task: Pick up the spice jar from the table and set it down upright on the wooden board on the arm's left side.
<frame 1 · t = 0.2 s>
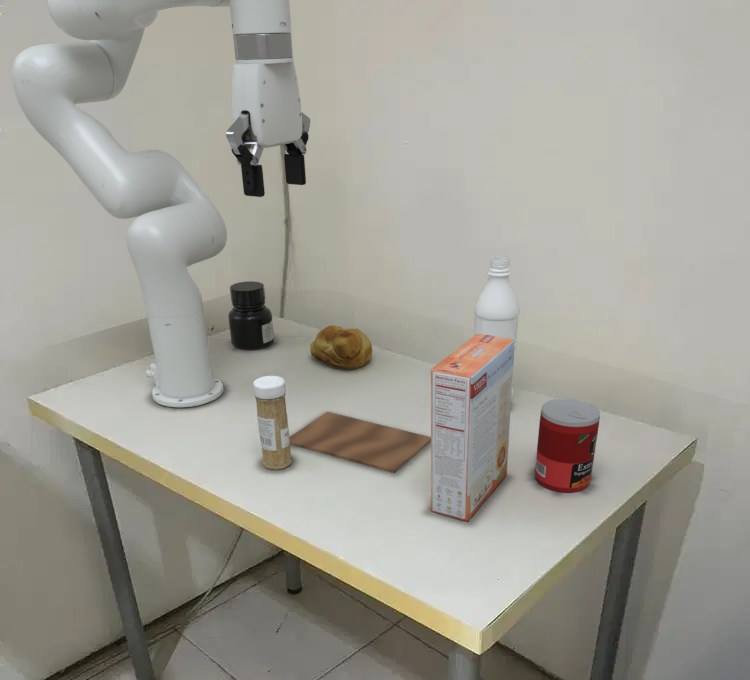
hand: (276, 189, 109), 37 cm above the table, tool pointing down, fingers open, 9 cm apart
spice jar: (277, 464, 117), on the table
ink bottle: (253, 344, 161), on the table
canned food: (561, 480, 111), on the table
bread roll: (341, 362, 151), on the table
wooden board: (358, 441, 122), on the table
water bottle: (490, 407, 132), on the table
cracker box: (468, 495, 108), on the table
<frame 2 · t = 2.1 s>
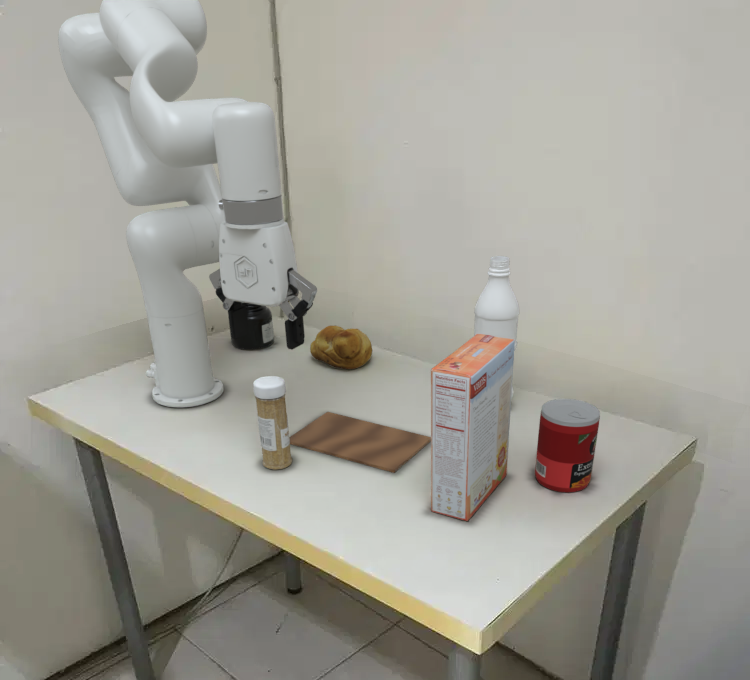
hand: (267, 341, 107), 19 cm above the table, tool pointing down, fingers open, 9 cm apart
nothing on the table moved.
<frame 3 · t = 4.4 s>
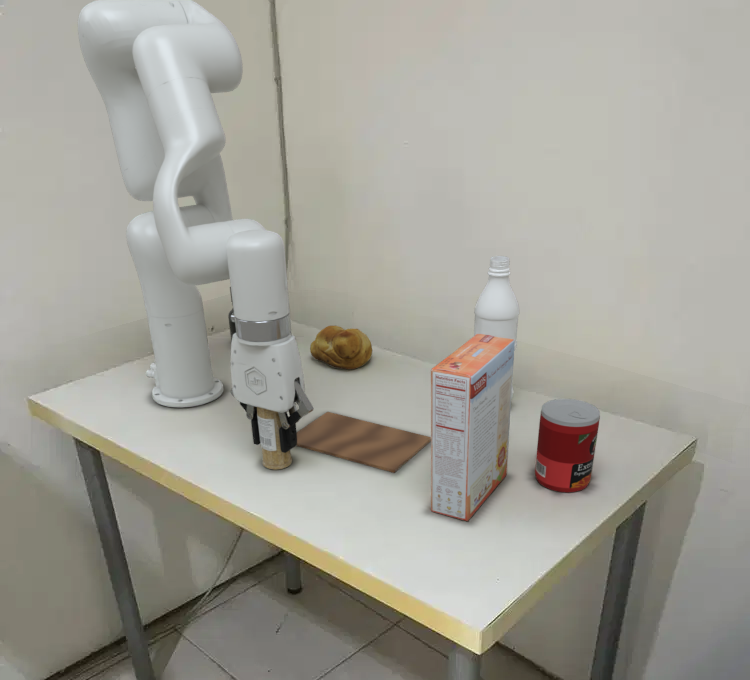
hand: (275, 443, 115), 3 cm above the table, tool pointing down, fingers closed on spice jar, 4 cm apart
spice jar: (277, 464, 117), on the table, touching gripper
everything else where it was.
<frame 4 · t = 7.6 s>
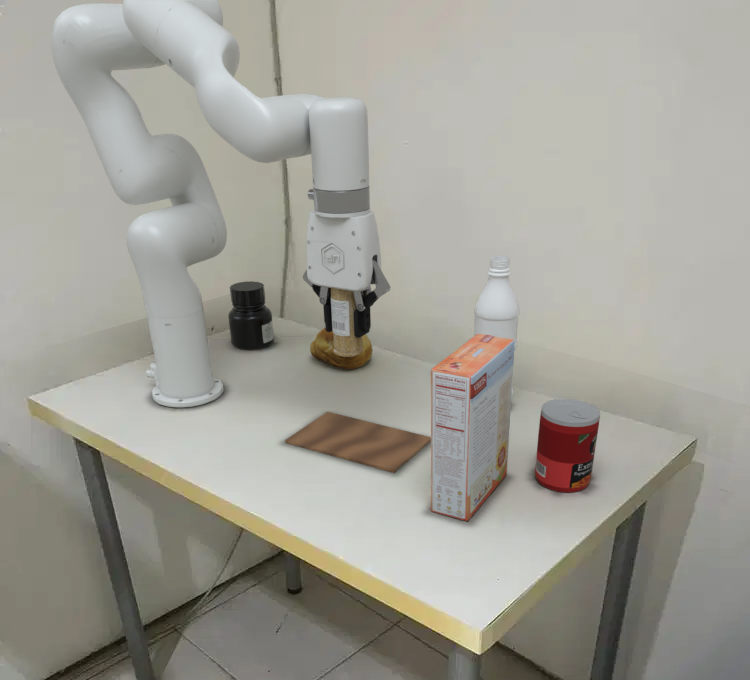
hand: (347, 330, 113), 18 cm above the table, tool pointing down, fingers closed on spice jar, 4 cm apart
spice jar: (348, 353, 115), point 14 cm above the table, touching gripper
everything else where it was.
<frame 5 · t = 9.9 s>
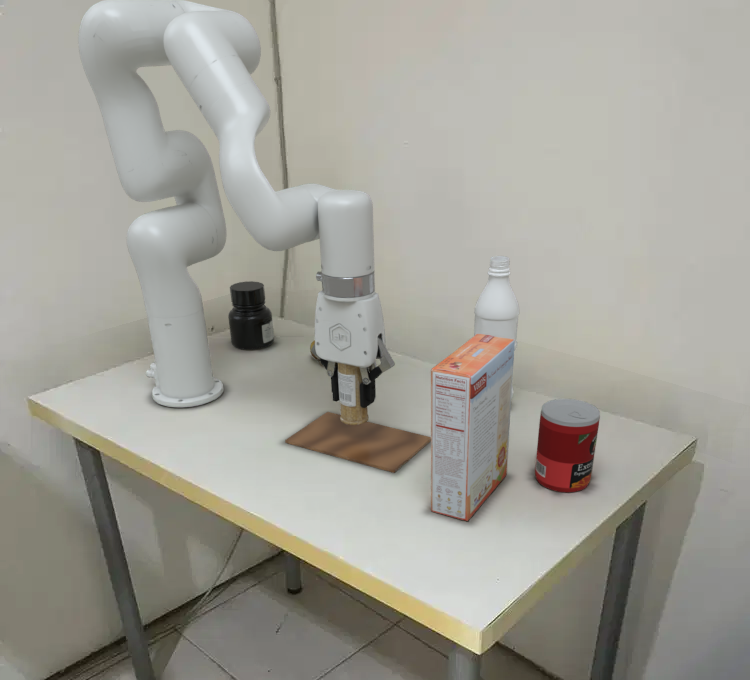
hand: (353, 400, 119), 7 cm above the table, tool pointing down, fingers closed on spice jar, 4 cm apart
spice jar: (354, 421, 121), point 3 cm above the table, touching gripper
everything else where it was.
when the fingers open (4 cm above the table, at t = 11.1 s): spice jar stays where it is, resting on wooden board.
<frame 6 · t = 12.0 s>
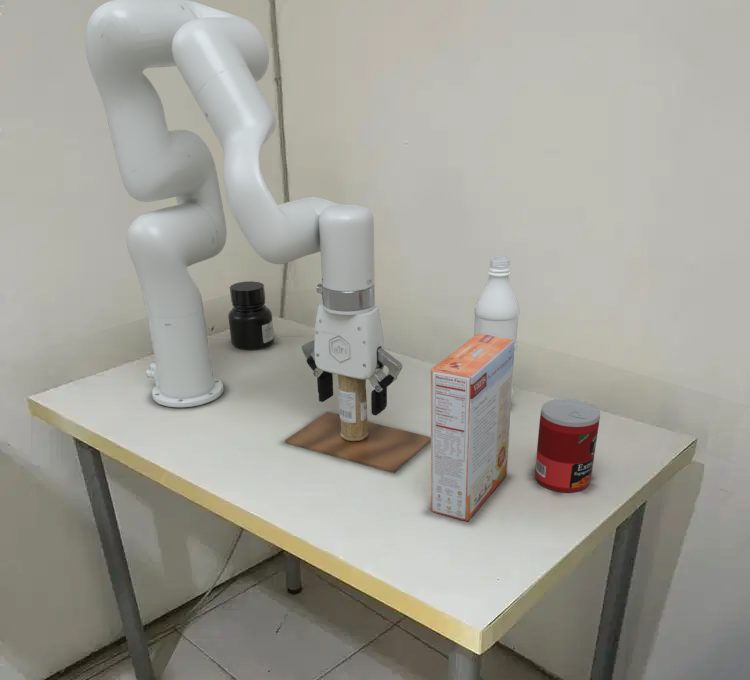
hand: (352, 405, 120), 6 cm above the table, tool pointing down, fingers open, 9 cm apart
spice jar: (354, 437, 123), resting on wooden board
everything else where it was.
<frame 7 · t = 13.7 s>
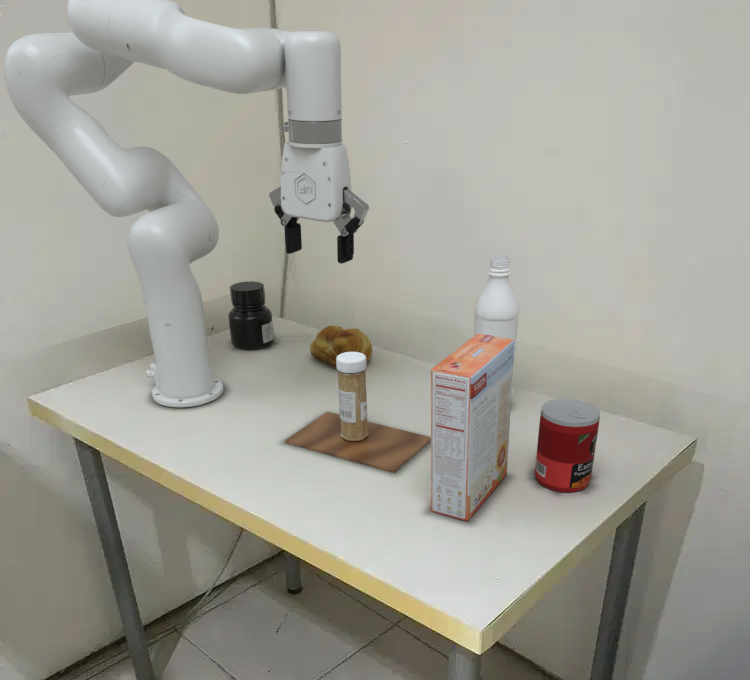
hand: (319, 256, 118), 26 cm above the table, tool pointing down, fingers open, 9 cm apart
nothing on the table moved.
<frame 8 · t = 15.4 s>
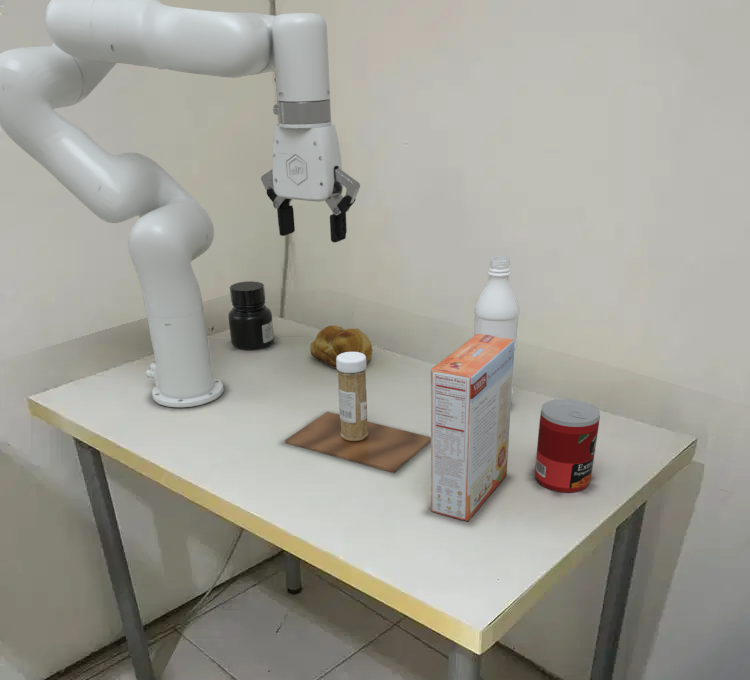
hand: (312, 237, 120), 28 cm above the table, tool pointing down, fingers open, 9 cm apart
nothing on the table moved.
at the end: spice jar inside the target area on the wooden board (1.2 cm from its centre), point 0.3 cm above the wooden board's base; spice jar tilted 0°; spice jar moved 13.8 cm from its start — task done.
